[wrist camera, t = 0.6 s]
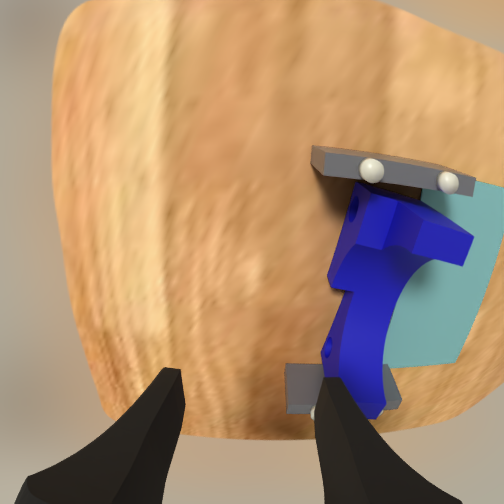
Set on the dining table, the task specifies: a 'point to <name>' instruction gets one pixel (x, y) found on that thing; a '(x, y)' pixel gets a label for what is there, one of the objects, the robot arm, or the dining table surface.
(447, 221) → the blue bent block
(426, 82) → the dining table surface
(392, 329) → the mat
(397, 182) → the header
